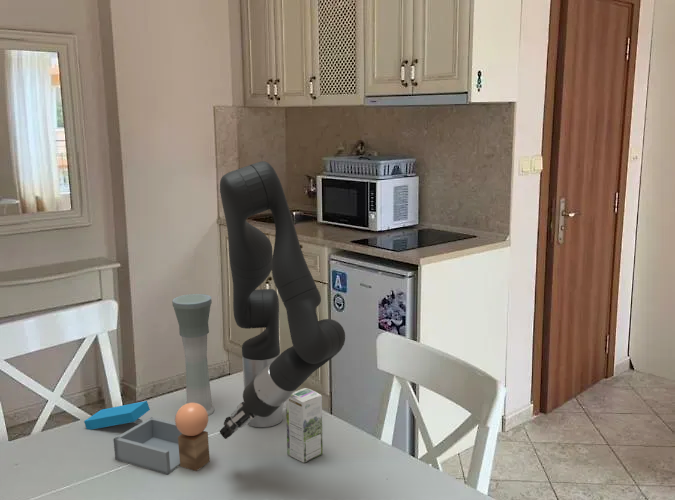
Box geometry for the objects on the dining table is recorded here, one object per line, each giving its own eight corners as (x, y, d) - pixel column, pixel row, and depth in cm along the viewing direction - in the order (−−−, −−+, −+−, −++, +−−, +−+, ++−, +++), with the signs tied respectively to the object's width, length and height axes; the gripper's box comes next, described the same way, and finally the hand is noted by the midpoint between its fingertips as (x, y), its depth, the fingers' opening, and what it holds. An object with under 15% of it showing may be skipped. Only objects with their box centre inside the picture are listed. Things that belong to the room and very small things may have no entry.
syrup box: (306, 446, 155) (303, 386, 152) (323, 454, 151) (322, 393, 148) (287, 455, 151) (284, 394, 148) (304, 464, 147) (302, 401, 144)
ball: (186, 425, 151) (184, 395, 149) (215, 429, 149) (213, 399, 147) (170, 439, 144) (167, 409, 143) (199, 443, 142) (197, 412, 141)
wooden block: (209, 461, 149) (207, 431, 148) (196, 471, 145) (194, 440, 144) (193, 457, 151) (191, 427, 150) (180, 466, 147) (177, 436, 146)
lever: (93, 447, 167) (152, 437, 160) (83, 421, 166) (143, 410, 160) (110, 434, 173) (168, 424, 167) (101, 409, 172) (159, 398, 166)
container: (214, 419, 169) (207, 303, 163) (176, 420, 169) (167, 304, 163) (221, 403, 179) (214, 293, 173) (185, 404, 179) (177, 294, 173)
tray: (203, 449, 154) (201, 429, 153) (167, 474, 144) (165, 452, 143) (153, 436, 161) (151, 417, 160) (115, 459, 151) (113, 438, 150)
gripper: (276, 363, 141) (231, 407, 149) (239, 386, 129) (192, 433, 137) (299, 391, 139) (253, 435, 147) (264, 417, 128) (215, 463, 136)
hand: (224, 434), depth 142 cm, fingers closed
